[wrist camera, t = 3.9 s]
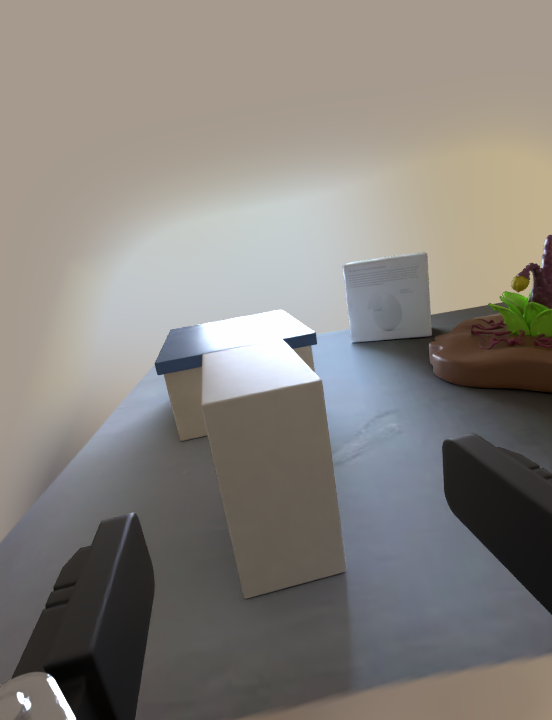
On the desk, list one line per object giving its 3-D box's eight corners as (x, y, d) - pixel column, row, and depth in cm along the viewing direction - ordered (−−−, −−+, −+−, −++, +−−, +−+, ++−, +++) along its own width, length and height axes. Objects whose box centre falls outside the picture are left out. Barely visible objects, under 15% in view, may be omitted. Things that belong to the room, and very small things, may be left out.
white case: (244, 600, 17) (200, 405, 14) (231, 493, 24) (202, 354, 22) (347, 572, 17) (322, 379, 15) (303, 476, 25) (282, 338, 23)
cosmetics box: (429, 325, 56) (425, 250, 54) (432, 337, 51) (428, 253, 48) (355, 331, 60) (347, 260, 57) (349, 343, 54) (341, 264, 51)
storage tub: (174, 445, 32) (154, 363, 30) (183, 387, 46) (170, 329, 44) (326, 412, 34) (315, 332, 32) (290, 366, 48) (281, 309, 46)
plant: (691, 333, 38) (708, 210, 35) (713, 415, 24) (743, 225, 21) (469, 329, 51) (467, 240, 48) (403, 380, 38) (395, 261, 35)
